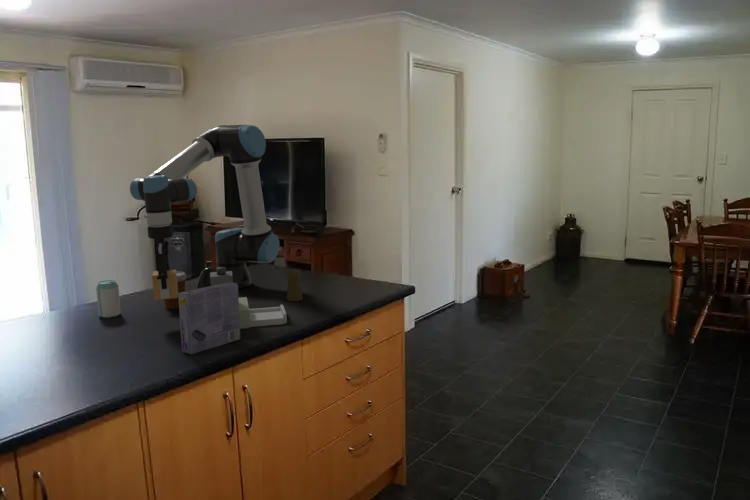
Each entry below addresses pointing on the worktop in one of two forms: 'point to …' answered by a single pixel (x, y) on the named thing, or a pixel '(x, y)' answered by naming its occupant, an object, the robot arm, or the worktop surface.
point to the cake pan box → (209, 317)
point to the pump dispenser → (205, 278)
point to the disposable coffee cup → (181, 288)
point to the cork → (294, 286)
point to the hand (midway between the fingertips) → (166, 295)
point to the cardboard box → (172, 284)
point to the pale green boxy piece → (245, 314)
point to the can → (108, 299)
